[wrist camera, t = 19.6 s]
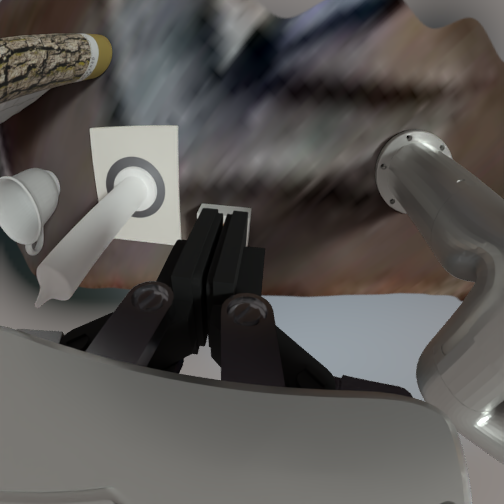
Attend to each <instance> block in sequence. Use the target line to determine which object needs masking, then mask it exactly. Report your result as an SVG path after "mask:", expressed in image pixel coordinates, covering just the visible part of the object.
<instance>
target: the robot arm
mask: <svg viewBox="0 0 504 504" xmlns="http://www.w3.org/2000/svg"><path fill="white" fill-rule="evenodd" d="M407 136H408V138H406V137H407ZM381 164H383V166H381ZM375 180H376V185H377V188H378V191H379V193H380V195H381V196H382V198H383V199H384V201H385V202H386V203H387V204H388V205H389V206H390V207H392V208H393V209H395V210H396V211H399V212H401V213H406V214H408V216H409V217H410V219H411V220H412V221H413V223H414V224H415V226H416V227H417V229H418V230H419V232H420V233H421V235H422V236H423V238H424V239H425V241H426V242H427V244H428V245H429V247H430V248H431V250H432V252H433V253H434V255H435V256H436V258H437V259H438V261H439V262H440V264H441V265H442V266H443V268H444V269H445V270H446V271H447V272H448V273H450V274H451V275H453V276H454V277H456V278H459V279H462V280H465V281H471V282H475V284H474V286H473V288H472V289H471V291H470V292H469V293H468V295H467V296H466V298H465V299H464V301H463V303H462V304H461V305H460V306H459V308H458V309H457V310H456V311H455V313H454V314H453V315H452V316H451V318H450V319H449V320H448V321H447V322H446V324H445V325H444V326H443V327H442V328H441V330H439V332H438V333H437V334H436V335H435V336H434V338H433V339H432V340H431V341H430V342H429V344H428V345H427V346H426V348H425V349H424V351H423V352H422V354H421V356H420V358H419V361H418V364H417V369H416V378H417V383H418V387H419V390H420V392H421V394H422V396H423V398H424V400H425V401H426V402H424V401H421V400H418V399H415V398H413V397H412V395H411V393H409V392H408V391H407V390H406V389H405V388H402V387H399V386H394V385H389V384H384V383H379V382H373V381H368V380H364V379H359V378H354V377H350V376H346V375H343V376H342V378H339V377H335V376H333V375H332V374H331V373H330V372H329V371H328V369H327V368H325V367H324V366H323V365H322V364H321V363H319V362H318V361H317V360H316V359H315V358H313V357H312V356H311V355H310V354H309V353H307V352H306V351H305V350H304V349H303V348H302V347H300V346H299V345H298V344H297V343H296V342H295V341H293V340H292V339H291V338H290V337H289V336H287V335H286V334H285V333H284V332H283V331H282V330H280V329H279V328H278V327H277V326H276V325H275V320H274V313H273V309H272V306H271V305H270V304H269V302H268V301H267V300H266V299H264V298H263V297H261V290H262V279H263V267H264V255H265V248H256V247H246V238H247V225H248V212H243V211H233V213H232V214H227V216H226V219H225V222H224V225H223V213H218V209H212V208H203V209H202V210H201V213H200V215H199V217H198V219H197V221H196V223H195V225H194V227H193V229H192V231H191V233H190V235H189V238H188V240H180V239H179V240H177V241H176V243H175V245H174V247H173V249H172V251H171V253H170V255H169V257H168V259H167V261H166V263H165V265H164V267H163V269H162V271H161V273H160V275H159V277H158V279H157V281H149V282H144V283H141V284H138V285H137V286H135V287H133V288H132V289H131V290H130V291H129V292H128V294H127V295H126V297H125V298H124V299H123V300H122V302H121V303H120V304H119V306H118V307H117V308H116V310H115V311H114V312H112V313H110V314H108V315H106V316H104V317H101V318H99V319H96V320H94V321H92V322H89V323H87V324H85V325H82V326H80V327H78V328H75V329H73V330H71V331H70V332H68V333H67V334H66V335H64V333H63V332H59V331H43V330H29V329H17V330H15V329H12V328H8V327H4V326H0V504H472V496H471V487H470V481H469V474H468V469H467V464H466V459H465V455H464V451H463V447H462V444H461V441H460V438H459V435H458V433H457V432H459V433H460V434H461V435H463V436H464V437H465V438H467V439H468V440H469V441H471V442H472V443H474V444H475V445H476V446H478V447H479V448H481V449H482V450H483V451H485V452H486V453H487V454H489V455H490V456H492V457H493V458H495V459H496V460H497V461H499V462H501V463H502V464H504V199H502V198H501V197H500V196H499V195H498V194H497V193H495V192H494V191H493V190H492V189H490V188H489V187H488V186H487V185H486V184H484V183H483V182H482V181H481V180H479V179H478V178H477V177H475V176H474V175H473V174H472V173H470V172H469V171H468V170H466V169H465V168H464V167H462V166H461V165H460V164H458V163H457V162H455V161H454V160H453V159H452V156H451V153H450V151H449V149H448V147H447V146H446V144H445V143H444V142H443V141H442V140H441V139H440V138H438V137H437V136H436V135H434V134H432V133H430V132H427V131H424V130H416V129H414V130H407V131H404V132H402V133H399V134H398V135H396V136H394V137H393V138H392V139H391V140H390V141H388V142H387V143H386V145H385V146H384V147H383V149H382V150H381V152H380V154H379V157H378V159H377V163H376V168H375ZM391 199H392V200H391ZM207 336H208V337H209V347H211V357H212V358H213V359H214V360H215V361H216V363H217V364H218V365H219V366H220V367H221V380H214V379H208V378H202V377H195V376H189V375H183V374H179V373H180V370H181V368H182V366H183V362H184V358H185V357H186V356H189V355H190V354H198V349H199V346H205V344H206V340H207Z"/></svg>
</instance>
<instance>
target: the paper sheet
mask: <svg viewBox="0 0 504 504" xmlns="http://www.w3.org/2000/svg"><path fill="white" fill-rule="evenodd" d="M90 139H91V149H92V158H93V167H94V174H95V182H96V188H97V195H98V201H99V202H100V201H101V200H102V199H103V198H104V197H105V196H106V195H107V194H108V193H109V192H110V191H112V190H113V189H114V180H115V178H116V176H117V174H118V173H119V172H120V171H121V170H123V169H124V168H127V167H132V166H135V167H140V168H142V169H144V170H146V171H147V172H148V173H149V174H150V175H151V176H152V177H153V179H154V180H155V183H156V186H157V197H156V199H155V201H154V203H153V204H152V205H151V206H150V207H149V208H148V209H146V210H143V211H135V212H134V214H133V215H132V216H131V217H130V219H129V220H128V221H127V222H126V223H125V225H124V226H123V227H122V228H121V230H120V231H119V232H118V233H117V235H116V236H115V237H114V238H116V239H125V240H134V241H142V242H151V243H160V244H169V245H175V243H176V241H177V240H179V239H180V240H181V224H180V202H179V167H178V126H172V125H149V126H115V127H98V128H90Z"/></svg>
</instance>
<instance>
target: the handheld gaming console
mask: <svg viewBox="0 0 504 504" xmlns="http://www.w3.org/2000/svg"><path fill="white" fill-rule="evenodd" d="M50 89H51V88H50ZM48 90H49V89H46V90H42V91H39V92H35V93H32V94H29V95H25V96H22V97H19V98H16V99H13V100H10V101H7V102H5V103H2V104H0V123H2V122H4V121H6V120H7V119H8V118H10V117H11V116H12V115H14V114H16V113H19V112H20V111H21V110H22V109H23V108H25V107H27V106H28V105H30V104H31V103H33V102H34V101H36V100H37V99H38V98H39V97H41V96H42V95H43V94H44V93H45V92H47V91H48Z"/></svg>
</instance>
